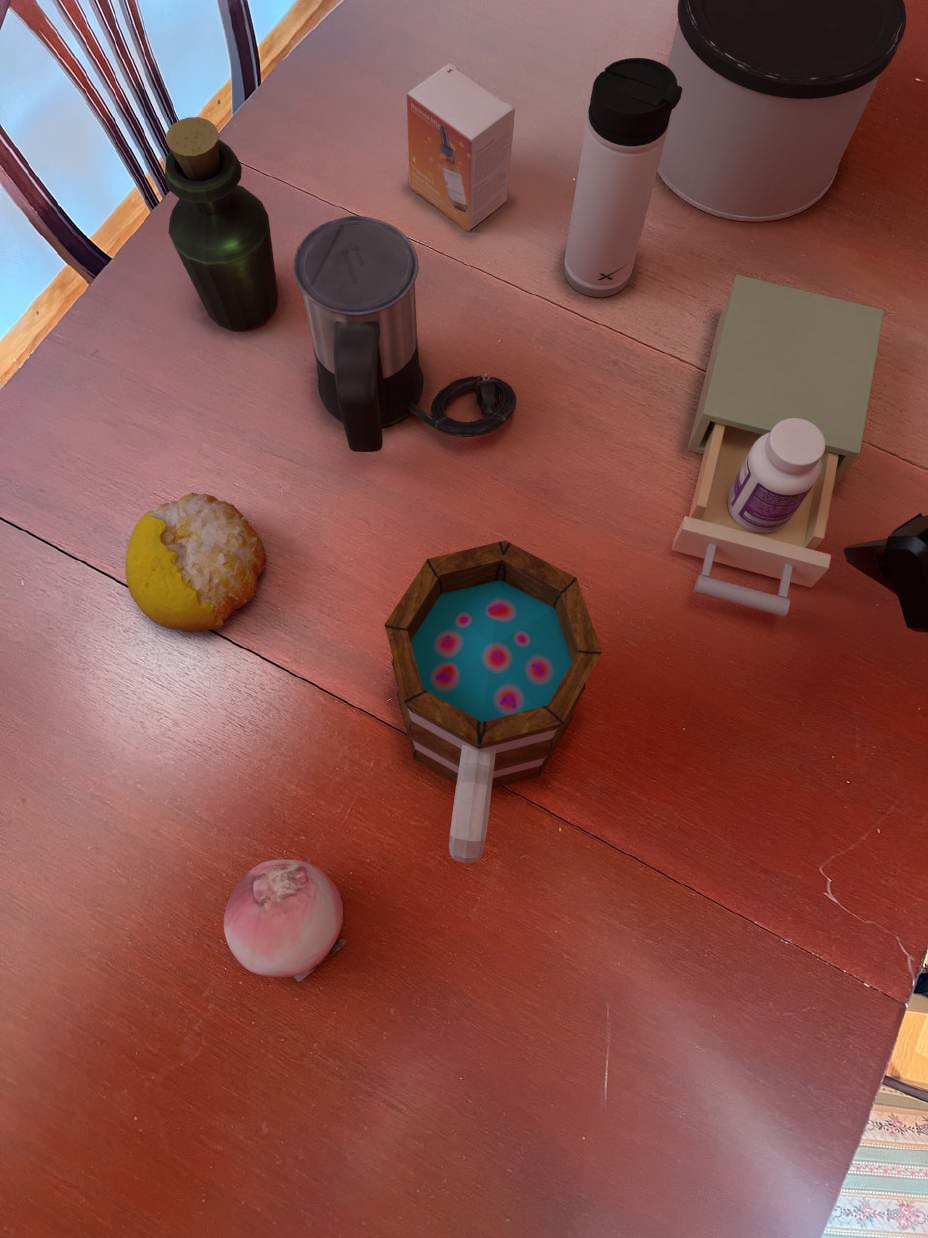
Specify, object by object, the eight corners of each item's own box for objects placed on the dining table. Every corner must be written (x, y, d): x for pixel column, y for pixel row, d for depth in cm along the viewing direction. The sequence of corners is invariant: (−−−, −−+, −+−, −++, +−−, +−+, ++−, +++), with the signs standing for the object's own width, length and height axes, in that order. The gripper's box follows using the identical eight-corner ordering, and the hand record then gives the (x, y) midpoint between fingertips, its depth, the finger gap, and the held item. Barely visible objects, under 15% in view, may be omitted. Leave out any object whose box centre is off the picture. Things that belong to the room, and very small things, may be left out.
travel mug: (615, 310, 87) (661, 122, 68) (551, 281, 88) (578, 88, 69) (645, 262, 89) (697, 68, 70) (581, 235, 90) (616, 35, 71)
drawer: (803, 635, 74) (820, 617, 71) (660, 596, 75) (670, 576, 72) (836, 447, 81) (854, 422, 77) (704, 413, 82) (715, 387, 78)
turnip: (350, 865, 68) (339, 851, 62) (348, 980, 65) (336, 979, 59) (238, 867, 68) (215, 853, 61) (231, 983, 65) (205, 982, 59)
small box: (408, 188, 92) (403, 91, 82) (449, 157, 93) (449, 58, 83) (468, 234, 90) (471, 140, 80) (509, 201, 91) (516, 105, 81)
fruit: (278, 632, 74) (226, 598, 67) (159, 653, 77) (96, 622, 69) (276, 503, 78) (227, 458, 71) (163, 527, 81) (105, 486, 73)
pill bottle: (805, 514, 77) (852, 450, 68) (754, 546, 76) (795, 486, 67) (762, 465, 78) (802, 396, 70) (711, 496, 77) (745, 430, 68)
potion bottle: (210, 261, 88) (153, 88, 71) (296, 273, 88) (259, 102, 71) (186, 332, 85) (121, 170, 68) (276, 345, 85) (232, 185, 68)
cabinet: (833, 488, 80) (860, 453, 75) (686, 450, 81) (703, 413, 76) (858, 351, 85) (884, 309, 80) (719, 317, 86) (736, 273, 81)
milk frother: (306, 354, 84) (278, 229, 70) (475, 311, 86) (480, 181, 72) (349, 490, 79) (328, 384, 66) (528, 440, 81) (544, 328, 68)
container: (611, 118, 95) (638, -33, 81) (766, 56, 99) (819, -98, 85) (716, 250, 89) (765, 112, 75) (878, 180, 93) (953, 35, 79)
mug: (410, 613, 75) (400, 527, 61) (580, 634, 75) (610, 552, 61) (369, 866, 68) (348, 833, 54) (557, 891, 68) (584, 865, 54)
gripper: (1196, 318, 53) (944, 366, 67) (998, 444, 46) (762, 469, 60) (1230, 502, 56) (981, 512, 70) (1049, 648, 49) (812, 627, 63)
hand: (890, 526), depth 66 cm, fingers open, 9 cm apart
